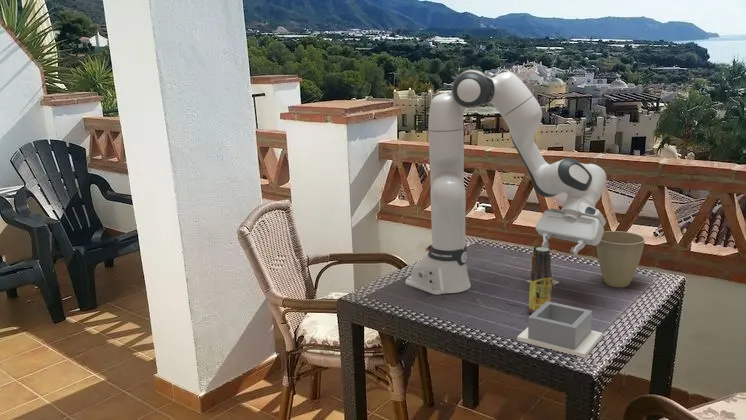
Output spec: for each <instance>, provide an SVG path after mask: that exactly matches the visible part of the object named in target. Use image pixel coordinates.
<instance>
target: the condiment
mask: <svg viewBox="0 0 746 420" xmlns="http://www.w3.org/2000/svg"><path fill="white" fill-rule="evenodd" d="M538 247H542V245H536V246H534V247H533V252H532V253H533V254H532V256H531V268H532V267H533V266H534V265H535V261H536V253H535V249H536V248H538ZM549 249H550V247H549ZM550 250H551V249H550ZM551 259H552V257H551V253H550V254H549V266H550V268H551V264H552V263H551V261H552V260H551ZM525 282H527V283H529V284H530V279H527V280H526V281H525ZM559 283H560V281H557V280H554V279H552V286H556V284H559Z"/></svg>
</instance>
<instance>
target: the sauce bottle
mask: <svg viewBox="0 0 746 420" xmlns="http://www.w3.org/2000/svg"><path fill="white" fill-rule="evenodd" d="M549 248H550V247H549ZM549 248H545V247H538V248H536V249H535V253H536V261H535V265H534V266H533V267H532V266H531V269H530V277H529V280H530V283H529V294H528V312H529V314H530V315H532V314H533V313H534V312H535V311H536V310H537V309H538V308H540V307H541V306H542V305H543V304H544V303H545V302H547V301H548V302H552V280H553V275H552V269H551V268H550V266H549V254H550V255H551V249H549Z"/></svg>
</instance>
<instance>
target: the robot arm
mask: <svg viewBox="0 0 746 420" xmlns="http://www.w3.org/2000/svg"><path fill="white" fill-rule="evenodd" d="M452 83H453V84H452V87H451V91H450V92H447V93H440V94H437V95H435V96H434V97H433V98H432V99H431V100H430V104H429V109H428V110H429V112H428V125H427V127H428V129H427V130H428V151H429V153H428V154H429V156H428V157H429V173H430V175H429V176H430V195H429V196H430V215H431V216H430V217H431V219H430V220H431V244H429V245H428V247H426V248H424V249H425V252H428V253H427V255H426V256H424V257H423V258H422V259H420V260H419V261H417V262H416V263H415V264H414V265H413V267H412V270H411V271H412V272H411V274H410V275H409V276H408V277H406V279H405V283H404V284H405V286H406V285H407V286H409V287H412V288H415V289H418V290H421V291H424V292H426V293H429V294H432V295H438V296H439V295H442V294H455V293H456V294H457V293H461V292H465V291H467V290H469V289H470V288H471V287H472V284H471V281H470V277H469V273H468V266H467V265H468V264H467V261H468V247H467V244H466V209H467V208H466V207H467V206H466V204H467V203H466V200H467V199H466V198H467V197H466V196H467V193H466V192H467V191H466V186H465V179H464V177H465V169H464V168H465V165H464V163H465V148H464V147H465V139H464V138H465V137H464V134H465V133H464V113H465V111H466V110H467V109H470V108H471V109H472V108H476V107H479V106H483V105H486V104H491V105H493V106H494V108H495V109H496V110H497V112H499V115H500V116H501V117H502V119H503V120H504V122H505V124H506V125H507V128H508V130H509V133H510V139H511V142H512V144H513V146H514V148H515V150H516V151H517V153H518V155H519V157H520V159H521V160H522V162H523V164H524V166H525V168H526V169H527V172H528V174H529V177H530V181H531V184H532V187H533V189H534V190H535V192H536V193H537V194H538V195H540V196H541V197H544V198H552V197H555V196H557V195H560V194H562V193H564V194H566V195H567V197H566V199H565V201H564V204H563V205H562V207H561V209H559V208H558V209H557V208H556V209H555V208H552V207H551V208H549V209H546V210H544V211H543V213H542V215H541V217H540V218H539V219H538V221H537V223H536V224H535V231H536V232H537V233H538V235H540V236H542V239H543V241H542V243H541V246H542V247H545V248H550V246H551V244H550V243H549V241H548V240H550V239H551V238H554V239H559V240H564V241H570V242H575V243H577V244H576V245H575V246H571V247H570V248H571V249H570V250H569V254H570V255H574V256H577V255H578V253H579V251H580V250H582V249H584V248H585V246H586V245H589V246H593V247H596V245H598V244H599V243H600V241H601V238H602V236H603V232H605V228H604V227H605V226H606V223H607V221H606V219H605V217H604V215H603V213H602V212H601V211H600V210H599V209H598V208H596V205H597V203H598V201H600V199H601V197H602V196H603V195H602V194H603V192H604V189H605V186H606V184H607V174H606V171H605V170H604V169H603V168H602V167H601V166H599V165H598V164H594V163H582V162H580V161H578V160H577V159H575V158H570V157H567V158H563V159H561V160H558V161H555V162H553V163H551V164H550V163H548V162H547V161H545V159H544V156H543V155H542V153H541V151H540V149H539V147H538V145H537V143H536V141H535V134H536V132H537V129H538V127H539V126H540V124H541V122H542V118H543V110H542V108H541V106H540V103H539V101H538V100H537V99H536V97H535V96H534V95H533V93H532V92H531V91H530V89H529V88H528V87H527V85H526V84H525V83H524V81H522V80H521V78H519V77H518V76H517V75H516V74H515V73H514V72H512V71H504V72H501V73H499V74H497V75H496V76H493V77H488V76H487V74H485V73H484V72H482V71H481V70H477V69H468V70H464V71H463V72H461V73H460V74H459V75H458V76H457V77H456V78H455V79H454V80H453V82H452Z"/></svg>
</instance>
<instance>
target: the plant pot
mask: <svg viewBox="0 0 746 420" xmlns="http://www.w3.org/2000/svg"><path fill="white" fill-rule="evenodd" d="M645 242H646V238H645V237H644V236H642V235H640V234H638V233H635V232H629V231H621V230H620V231H618V230H613V231H611V230H610V231H604V232H603V236H602V238H601V241H600V243H599V244H598V245H596V246H595V247H596V254H597V259H598V264H599V267H600V272H601V275H602V277H603V280H604V283H605V284H606V285H607V286H609V287H613V288H626V287H629V286H630V285H631V282H632V280H633V278H634V276H635V274H636V271H637V269H638V267H639V264H640V262H641V258H642V253H643V251H644V247H645Z"/></svg>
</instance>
